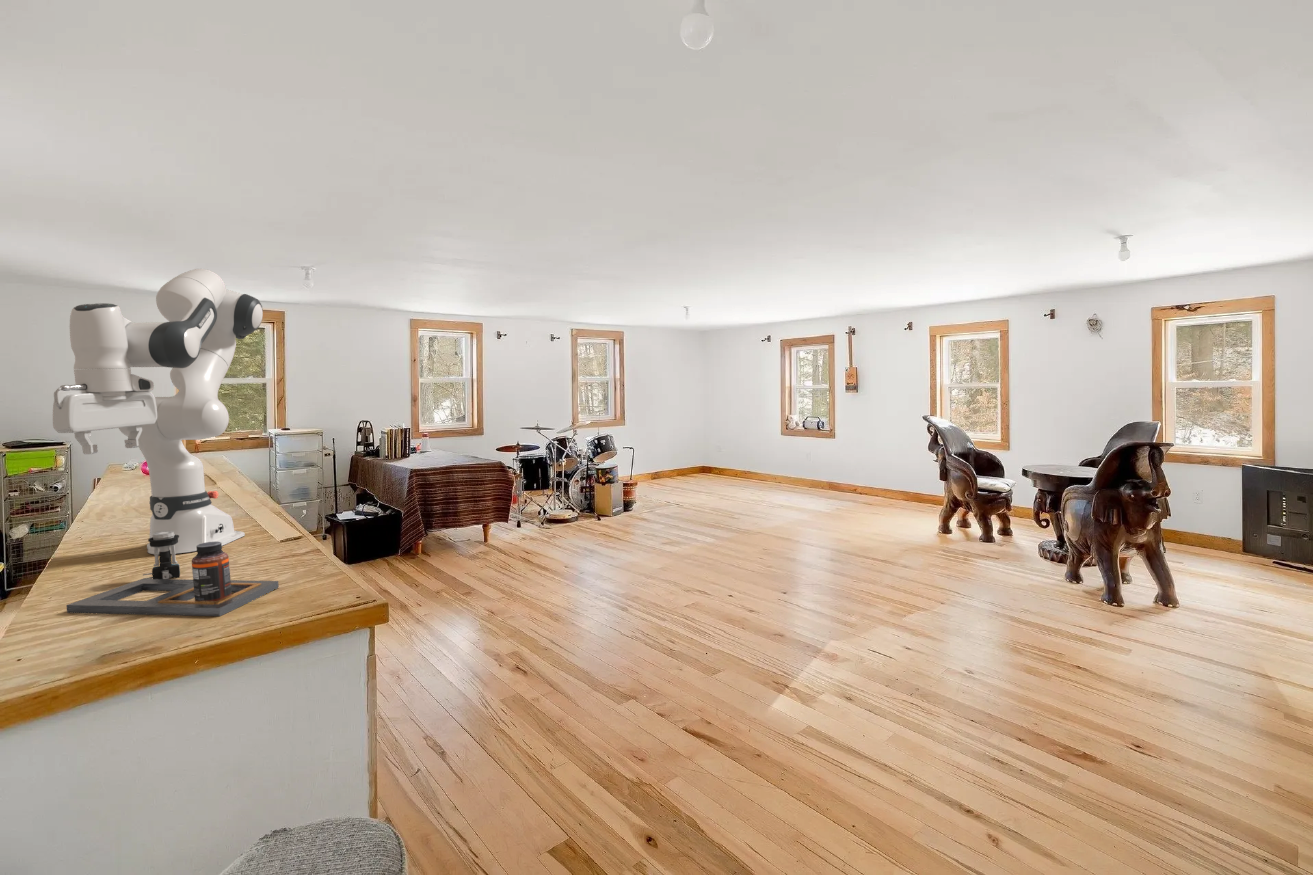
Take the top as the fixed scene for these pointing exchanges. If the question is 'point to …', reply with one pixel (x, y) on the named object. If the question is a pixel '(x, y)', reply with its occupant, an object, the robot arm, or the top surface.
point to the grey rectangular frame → (170, 598)
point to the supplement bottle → (211, 572)
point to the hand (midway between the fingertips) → (112, 450)
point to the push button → (164, 555)
